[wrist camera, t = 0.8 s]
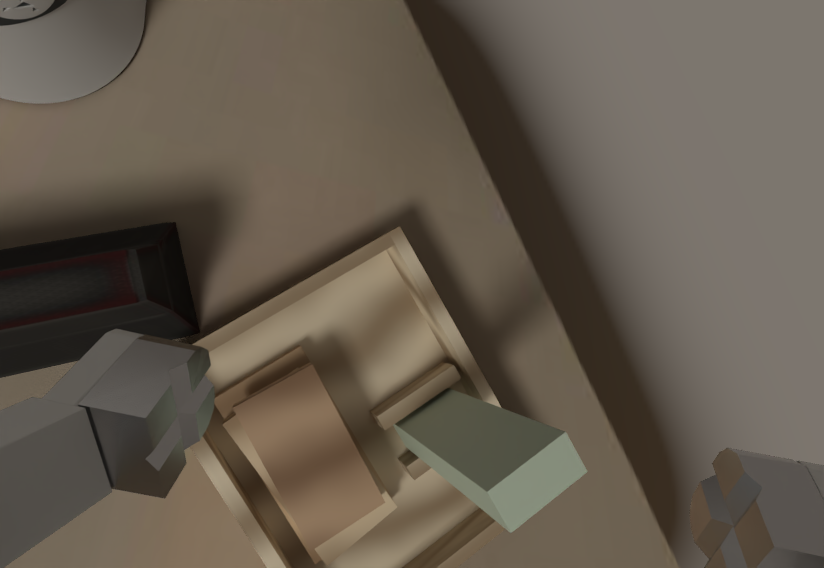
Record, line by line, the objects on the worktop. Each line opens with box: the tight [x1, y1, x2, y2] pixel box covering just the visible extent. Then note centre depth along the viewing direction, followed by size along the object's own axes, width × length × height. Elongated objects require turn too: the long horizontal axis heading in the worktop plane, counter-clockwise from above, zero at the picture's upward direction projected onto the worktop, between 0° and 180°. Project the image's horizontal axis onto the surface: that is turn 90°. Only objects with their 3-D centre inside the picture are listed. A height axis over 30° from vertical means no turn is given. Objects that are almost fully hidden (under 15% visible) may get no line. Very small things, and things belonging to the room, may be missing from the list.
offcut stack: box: [214, 345, 397, 566], centre depth 40 cm, size 14×7×4 cm, turn 31°
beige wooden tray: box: [190, 226, 505, 568], centre depth 43 cm, size 24×20×4 cm
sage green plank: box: [393, 388, 587, 533], centre depth 36 cm, size 2×5×18 cm, turn 121°
